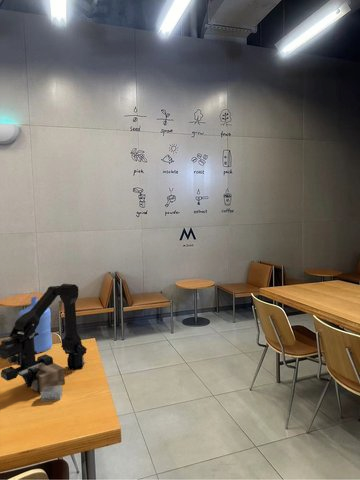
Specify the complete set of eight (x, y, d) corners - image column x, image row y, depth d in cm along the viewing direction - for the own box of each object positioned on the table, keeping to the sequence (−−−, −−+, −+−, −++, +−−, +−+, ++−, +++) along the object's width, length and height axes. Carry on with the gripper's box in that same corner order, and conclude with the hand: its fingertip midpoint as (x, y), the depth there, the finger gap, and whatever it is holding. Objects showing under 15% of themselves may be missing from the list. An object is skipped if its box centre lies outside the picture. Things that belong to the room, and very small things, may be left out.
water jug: (41, 355, 170) (38, 301, 168) (14, 353, 173) (10, 301, 171) (58, 343, 185) (55, 294, 183) (33, 342, 188) (30, 294, 186)
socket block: (47, 374, 148) (46, 359, 148) (64, 383, 140) (64, 367, 139) (25, 383, 141) (24, 368, 140) (42, 394, 132) (41, 377, 131)
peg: (46, 380, 141) (46, 371, 140) (51, 383, 138) (51, 374, 138) (30, 387, 135) (30, 378, 135) (35, 390, 133) (35, 381, 133)
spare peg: (62, 394, 131) (61, 385, 131) (60, 400, 127) (59, 390, 127) (43, 396, 130) (43, 386, 130) (41, 402, 126) (40, 392, 126)
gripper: (39, 338, 144) (41, 372, 145) (-7, 352, 129) (-5, 390, 131) (52, 343, 137) (54, 380, 138) (6, 359, 123) (8, 400, 124)
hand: (29, 387), depth 133 cm, fingers closed
